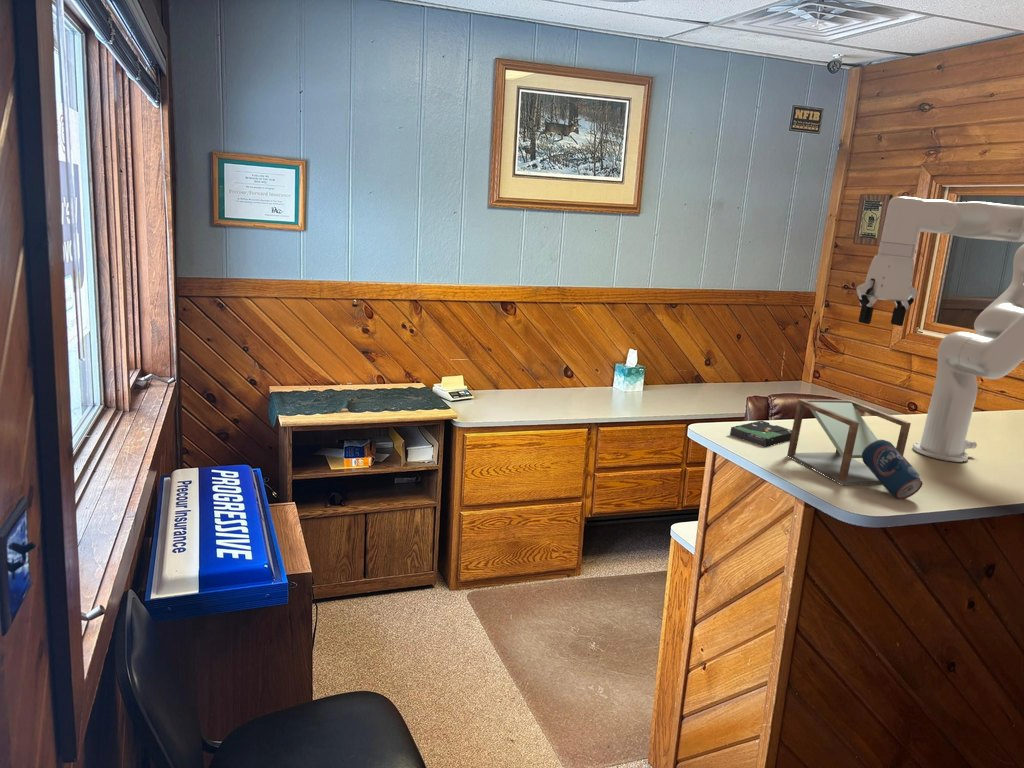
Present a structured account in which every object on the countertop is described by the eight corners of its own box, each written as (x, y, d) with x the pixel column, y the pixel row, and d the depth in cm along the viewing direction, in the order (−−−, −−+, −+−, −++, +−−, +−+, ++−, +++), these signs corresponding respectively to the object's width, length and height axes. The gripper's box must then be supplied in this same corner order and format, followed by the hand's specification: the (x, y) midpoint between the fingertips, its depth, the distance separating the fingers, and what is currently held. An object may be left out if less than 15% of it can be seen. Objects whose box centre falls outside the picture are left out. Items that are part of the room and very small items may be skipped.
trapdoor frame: (787, 456, 180) (798, 399, 176) (838, 455, 184) (850, 400, 181) (841, 485, 163) (854, 422, 160) (896, 483, 168) (910, 423, 164)
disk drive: (759, 430, 202) (728, 436, 192) (761, 420, 202) (730, 426, 192) (795, 441, 195) (765, 449, 185) (797, 431, 194) (767, 438, 184)
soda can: (883, 432, 162) (921, 473, 153) (891, 445, 166) (928, 486, 158) (855, 451, 163) (891, 493, 155) (863, 464, 168) (898, 505, 159)
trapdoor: (807, 405, 176) (809, 402, 175) (849, 405, 179) (851, 402, 179) (842, 458, 165) (845, 455, 164) (886, 457, 169) (888, 454, 168)
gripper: (912, 252, 183) (896, 322, 187) (854, 247, 177) (840, 319, 181) (937, 256, 176) (921, 328, 180) (878, 250, 170) (862, 325, 174)
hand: (880, 324), depth 181 cm, fingers open, 9 cm apart
